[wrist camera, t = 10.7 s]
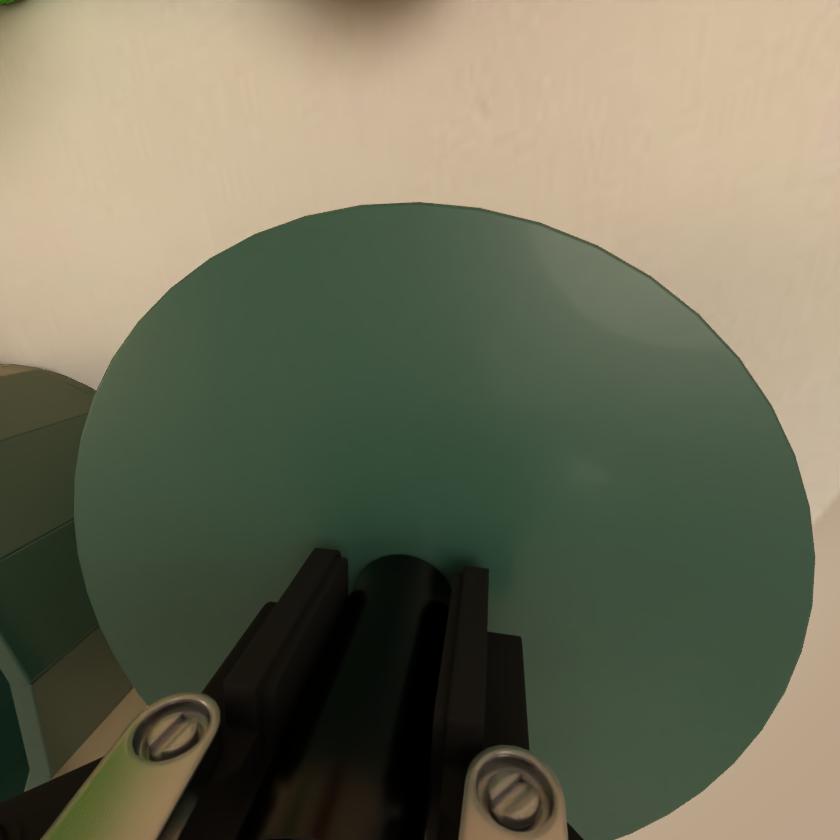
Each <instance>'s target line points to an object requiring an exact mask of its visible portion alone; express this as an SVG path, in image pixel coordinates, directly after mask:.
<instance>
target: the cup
mask: <svg viewBox="0 0 840 840" xmlns="http://www.w3.org/2000/svg"><path fill="white" fill-rule="evenodd" d="M13 1H15V0H0V4H6V3H11V2H13Z"/></svg>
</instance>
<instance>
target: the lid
mask: <svg viewBox="0 0 840 840" xmlns="http://www.w3.org/2000/svg"><path fill="white" fill-rule="evenodd" d="M74 524H75V533H76V542H77V551H78V557H79V561H80V566H81V570H82V574H83V578H84V582H85V586H86V590H87V594H88V596H89V599H90V602H91V605H92V607H93V610H94V613H95V615H96V618H97V621H98V623H99V626H100V629H101V631H102V633H103V634H104V636H105V638H106V640H107V642H108V644H109V646H110V648H111V650H112V652H113V654H114V656H115V658H116V660H117V662H118V664H119V665H120V667H121V668H122V670H123V671H124V673H125V674H126V676H127V678H128V679H129V681H130V682H131V684H132V685H133V687H134V688H135V690H136V691H137V693H138V694H139V696H140V697H141V698H142V699H143V701H144V702H145V703H146V704H147V706H150V705H151V704H152V703H154V702H156V701H158V700H160V699H162V698H164V697H167V696H169V695H173V694H177V693H181V692H199V693H202V691H203V690H204V688H205V687H206V686H207V684H208V683H209V681H210V680H211V679H212V677H213V676H214V674H215V673H216V672H217V670H218V669H219V667H220V666H221V665H222V663H223V662H224V660H225V659H226V658H227V656H228V655H229V653H230V652H231V651H232V649H233V648H234V646H235V645H236V644H237V642H238V641H239V639H240V638H241V637H242V635H243V634H244V633H245V631H246V630H247V628H248V627H249V626H250V624H251V623H252V621H253V620H254V619H255V617H256V616H257V614H258V613H259V612H260V610H261V609H262V607H263V606H264V605H265V604H266V603H268V602H270V601H271V602H278V601H279V599H280V598H281V596H282V595H283V593H284V592H285V590H286V589H287V588H288V586H289V585H290V583H291V582H292V580H293V579H294V577H295V576H296V574H297V573H298V571H299V570H300V568H301V567H302V565H303V564H304V563H305V561H306V560H307V558H308V557H309V555H310V554H311V552H312V551H313V550H314V548H324V549H333V550H339V551H340V553H341V557H345V558H347V559H348V599H347V601H346V603H345V605H344V607H343V609H342V612H341V614H340V616H339V618H338V620H337V622H336V624H335V627H334V629H333V631H332V633H331V635H330V637H329V639H328V642H327V644H326V646H325V648H324V650H323V652H322V654H321V656H320V659H319V661H318V663H317V665H316V667H315V669H314V671H313V674H312V676H311V678H310V680H309V682H308V684H307V686H306V689H305V691H304V693H303V695H302V697H301V699H300V701H299V703H298V706H297V708H296V710H295V712H294V714H293V716H292V718H291V721H290V723H289V725H288V727H287V729H286V731H285V733H284V736H283V738H282V740H281V742H280V744H279V746H278V748H277V750H276V753H275V755H274V757H273V759H272V761H271V763H270V765H269V768H268V770H267V772H266V774H265V776H264V778H263V780H262V783H261V785H260V787H259V789H258V791H257V793H256V795H255V797H254V800H253V802H252V804H251V806H250V808H249V810H248V812H247V815H246V817H245V819H244V821H243V823H242V825H241V827H240V829H239V832H238V834H237V836H236V838H235V840H425V838H426V826H427V818H428V810H429V803H430V795H431V791H430V781H429V775H430V760H431V744H432V729H433V718H434V709H435V701H436V694H437V688H438V681H439V674H440V667H441V660H442V654H443V647H444V640H445V633H446V626H447V620H448V613H449V606H450V599H451V592H452V586H453V579H454V572H455V571H458V572H464V569H465V566H472V567H480V568H488V569H489V591H488V626H487V632H494V633H501V634H508V635H515V636H521V638H522V646H523V661H524V676H525V690H526V705H527V719H528V734H529V749H530V752H532V753H533V754H535V755H537V756H538V757H540V758H541V759H542V760H543V761H544V762H545V763H546V764H547V765H548V766H549V767H550V768H551V769H552V770H553V771H554V773H555V775H556V777H557V779H558V780H559V782H560V784H561V786H562V790H563V795H564V799H565V806H566V818H567V822H568V823H569V824H570V825H571V826H572V827H573V828H574V830H575V831H576V832H577V833H578V834H579V835H580V836H581V837H582V838H583V839H584V840H615V839H617V838H620V837H623V836H625V835H628V834H631V833H633V832H635V831H637V830H639V829H641V828H643V827H645V826H647V825H649V824H651V823H653V822H655V821H656V820H659V819H661V818H663V817H664V816H667V815H668V814H670V813H671V812H673V811H674V810H676V809H677V808H679V807H680V806H682V805H683V804H685V803H686V802H687V801H689V800H691V799H692V798H693V797H695V796H696V795H698V794H699V793H701V792H702V791H703V790H705V789H706V788H707V787H708V786H709V785H710V784H711V783H712V782H714V781H715V780H716V779H717V778H718V777H719V776H720V775H721V774H723V773H724V772H725V771H726V770H727V769H728V768H729V767H730V766H731V765H732V764H734V763H735V761H736V760H737V759H738V758H739V757H740V755H741V754H742V753H743V752H744V751H745V750H746V748H747V747H748V746H749V745H750V744H751V742H752V741H753V740H754V739H755V738H756V737H757V735H758V734H759V733H760V732H761V731H762V729H763V727H764V726H765V724H766V722H767V721H768V719H769V718H770V716H771V714H772V713H773V711H774V709H775V708H776V706H777V704H778V703H779V701H780V699H781V698H782V696H783V695H784V693H785V691H786V688H787V686H788V683H789V681H790V678H791V676H792V674H793V671H794V669H795V666H796V664H797V662H798V659H799V657H800V654H801V652H802V648H803V644H804V639H805V635H806V630H807V626H808V622H809V617H810V613H811V609H812V602H813V584H814V568H815V567H814V566H815V552H814V543H813V535H812V534H813V533H812V524H811V515H810V507H809V503H808V500H807V496H806V492H805V489H804V485H803V482H802V478H801V475H800V471H799V468H798V464H797V461H796V457H795V454H794V452H793V450H792V448H791V446H790V443H789V441H788V439H787V437H786V435H785V433H784V431H783V429H782V426H781V424H780V422H779V420H778V418H777V416H776V414H775V411H774V409H773V407H772V405H771V404H770V402H769V401H768V399H767V398H766V396H765V395H764V393H763V392H762V390H761V389H760V387H759V386H758V385H757V383H756V382H755V380H754V379H753V377H752V376H751V374H750V373H749V371H748V370H747V368H746V367H745V365H744V364H743V362H742V361H741V360H740V358H739V357H738V356H737V355H736V354H735V353H734V352H733V350H732V349H731V348H730V347H729V346H728V345H727V344H726V343H725V342H724V341H723V340H722V339H721V338H720V337H719V335H718V334H717V333H716V332H715V331H714V330H713V329H712V328H711V327H710V326H709V325H708V324H707V323H706V322H705V320H704V319H703V318H702V317H701V316H700V315H699V314H698V313H696V312H695V311H694V310H693V309H691V308H690V307H689V306H688V305H686V304H685V303H684V302H683V301H681V300H680V299H679V298H678V297H676V296H675V295H674V294H672V293H671V292H670V291H669V290H667V289H666V288H665V287H664V286H662V285H661V284H660V283H659V282H657V281H656V280H655V279H654V278H652V277H651V276H649V275H648V274H646V273H644V272H642V271H641V270H639V269H637V268H635V267H634V266H632V265H630V264H629V263H627V262H625V261H623V260H622V259H620V258H618V257H616V256H615V255H613V254H611V253H609V252H608V251H606V250H604V249H603V248H601V247H599V246H597V245H595V244H592V243H590V242H587V241H585V240H582V239H580V238H577V237H575V236H572V235H570V234H567V233H565V232H562V231H560V230H557V229H555V228H552V227H550V226H547V225H545V224H542V223H540V222H536V221H532V220H528V219H523V218H519V217H515V216H511V215H507V214H503V213H499V212H495V211H490V210H486V209H482V208H475V207H465V206H454V205H444V204H433V203H423V202H413V203H393V204H372V205H359V206H354V207H349V208H344V209H338V210H333V211H328V212H323V213H318V214H313V215H308V216H304V217H301V218H299V219H296V220H293V221H290V222H287V223H285V224H282V225H279V226H276V227H273V228H271V229H268V230H265V231H262V232H259V233H257V234H254V235H252V236H251V237H249V238H247V239H245V240H243V241H241V242H239V243H238V244H236V245H234V246H232V247H230V248H228V249H226V250H225V251H223V252H221V253H219V254H217V255H215V256H213V257H212V258H210V259H209V260H207V261H206V262H205V263H203V264H202V265H201V266H199V267H198V268H197V269H195V270H194V271H193V272H191V273H190V274H189V275H187V276H186V277H185V278H183V279H182V280H181V281H179V282H178V283H177V284H176V285H174V286H173V287H172V288H170V290H169V291H168V292H167V293H166V294H165V295H164V296H163V297H162V298H161V299H160V300H159V301H158V302H157V303H156V304H155V305H154V306H153V307H152V308H151V309H150V310H149V311H148V312H147V313H146V314H145V315H144V316H143V318H142V319H141V320H140V321H139V322H138V323H137V324H136V326H135V327H134V329H133V330H132V331H131V333H130V334H129V336H128V337H127V339H126V340H125V341H124V343H123V344H122V346H121V347H120V349H119V350H118V351H117V353H116V354H115V356H114V357H113V359H112V360H111V363H110V365H109V367H108V369H107V371H106V373H105V375H104V377H103V379H102V381H101V383H100V385H99V387H98V389H97V391H96V393H95V395H94V397H93V400H92V403H91V406H90V410H89V413H88V416H87V419H86V422H85V425H84V428H83V432H82V435H81V439H80V445H79V451H78V458H77V464H76V470H75V476H74Z"/></svg>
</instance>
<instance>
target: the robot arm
mask: <svg viewBox="0 0 840 840" xmlns="http://www.w3.org/2000/svg"><path fill="white" fill-rule="evenodd" d="M488 591H489V569H488V568H480V567H472V566H465V569H464V572H458V571H455V572H454V579H453V586H452V592H451V599H450V606H449V613H448V620H447V626H446V633H445V640H444V647H443V654H442V660H441V667H440V674H439V681H438V688H437V694H436V701H435V709H434V718H433V729H432V744H431V760H430V775H429V781H430V791H431V795H430V803H429V810H428V818H427V826H426V838H425V840H584V839H583V838H582V837H581V836H580V835H579V834H578V833H577V832H576V831H575V830H574V828H573V827H572V826H571V825H570V824H569V823H568V822H567V818H566V806H565V799H564V795H563V790H562V786H561V784H560V782H559V780H558V779H557V777H556V775H555V773H554V771H553V770H552V769H551V768H550V767H549V766H548V765H547V764H546V763H545V762H544V761H543V760H542V759H541V758H540V757H538V756H537V755H535V754H533V753H532V752H530V749H529V734H528V719H527V705H526V690H525V676H524V661H523V646H522V638H521V636H515V635H508V634H501V633H494V632H487V626H488ZM347 599H348V559H347V558H345V557H341V553H340V551H339V550H333V549H324V548H314V550H313V551H312V552H311V554H310V555H309V557H308V558H307V560H306V561H305V563H304V564H303V565H302V567H301V568H300V570H299V571H298V573H297V574H296V576H295V577H294V579H293V580H292V582H291V583H290V585H289V586H288V588H287V589H286V590H285V592H284V593H283V595H282V596H281V598H280V599H279V601H278V602H271V601H270V602H268V603H266V604H265V605H264V606H263V607H262V609H261V610H260V612H259V613H258V614H257V616H256V617H255V619H254V620H253V621H252V623H251V624H250V626H249V627H248V628H247V630H246V631H245V633H244V634H243V635H242V637H241V638H240V639H239V641H238V642H237V644H236V645H235V646H234V648H233V649H232V651H231V652H230V653H229V655H228V656H227V658H226V659H225V660H224V662H223V663H222V665H221V666H220V667H219V669H218V670H217V672H216V673H215V674H214V676H213V677H212V679H211V680H210V681H209V683H208V684H207V686H206V687H205V688H204V690H203V691H202V693H199V692H181V693H177V694H173V695H169V696H167V697H164V698H162V699H160V700H158V701H156V702H154V703H152V704H151V705H150V706H148V707H147V708H145V709H144V710H142V711H141V712H140V713H139V714H138V715H137V716H136V717H135V718H134V719H133V720H132V721H131V722H130V724H129V725H128V726H127V728H126V729H125V730H124V731H123V733H122V734H121V735H120V737H119V738H118V739H117V741H116V742H115V743H114V744H113V746H112V747H111V748H110V750H109V751H108V752H107V754H106V755H105V756H103V757H101V758H99V759H97V760H94V761H92V762H90V763H88V764H86V765H83V766H81V767H79V768H77V769H74V770H72V771H70V772H68V773H66V774H63V775H61V776H59V777H57V778H55V779H52V780H50V781H48V782H46V783H44V784H41V785H39V786H37V787H35V788H32V789H30V790H28V791H26V792H24V793H21V794H19V795H17V796H15V797H13V798H10V799H8V800H6V801H4V802H2V803H0V840H235V838H236V836H237V834H238V832H239V829H240V827H241V825H242V823H243V821H244V819H245V817H246V815H247V812H248V810H249V808H250V806H251V804H252V802H253V800H254V797H255V795H256V793H257V791H258V789H259V787H260V785H261V783H262V780H263V778H264V776H265V774H266V772H267V770H268V768H269V765H270V763H271V761H272V759H273V757H274V755H275V753H276V750H277V748H278V746H279V744H280V742H281V740H282V738H283V736H284V733H285V731H286V729H287V727H288V725H289V723H290V721H291V718H292V716H293V714H294V712H295V710H296V708H297V706H298V703H299V701H300V699H301V697H302V695H303V693H304V691H305V689H306V686H307V684H308V682H309V680H310V678H311V676H312V674H313V671H314V669H315V667H316V665H317V663H318V661H319V659H320V656H321V654H322V652H323V650H324V648H325V646H326V644H327V642H328V639H329V637H330V635H331V633H332V631H333V629H334V627H335V624H336V622H337V620H338V618H339V616H340V614H341V612H342V609H343V607H344V605H345V603H346V601H347Z"/></svg>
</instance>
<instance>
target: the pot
mask: <svg viewBox="0 0 840 840" xmlns="http://www.w3.org/2000/svg"><path fill="white" fill-rule="evenodd" d="M95 393H96V391H95V390H93V389H91V388H89V387H88V386H86V385H84V384H81V383H79V382H77V381H74V380H72V379H70V378H68V377H65V376H63V375H60V374H56V373H53V372H50V371H46V370H43V369H39V368H34V367H27V366H21V365H1V364H0V803H2V802H4V801H6V800H8V799H10V798H13V797H15V796H17V795H19V794H21V793H24V792H26V791H28V790H30V789H32V788H35V787H37V786H39V785H41V784H44V783H46V782H48V781H50V780H52V779H55V778H57V777H59V776H61V775H63V774H66V773H68V772H70V771H72V770H74V769H77V768H79V767H81V766H83V765H86V764H88V763H90V762H92V761H94V760H97V759H99V758H101V757H103V756H105V755H106V754H107V752H108V751H109V750H110V748H111V747H112V746H113V744H114V743H115V742H116V741H117V739H118V738H119V737H120V735H121V734H122V733H123V731H124V730H125V729H126V728H127V726H128V725H129V724H130V722H131V721H132V720H133V719H134V718H135V717H136V716H137V715H138V714H139V713H140V712H141V711H142V710H144V709H145V708H146V707H147V704H146V703H145V702H144V701H143V699H142V698H141V697H140V696H139V694H138V693H137V691H136V690H135V688H134V687H133V685H132V684H131V682H130V681H129V679H128V678H127V676H126V674H125V673H124V671H123V670H122V668H121V667H120V665H119V664H118V662H117V660H116V658H115V656H114V654H113V652H112V650H111V648H110V646H109V644H108V642H107V640H106V638H105V636H104V634H103V633H102V631H101V629H100V626H99V623H98V621H97V618H96V615H95V613H94V610H93V607H92V605H91V602H90V599H89V596H88V594H87V590H86V586H85V582H84V578H83V574H82V570H81V566H80V561H79V557H78V551H77V542H76V533H75V524H74V476H75V470H76V464H77V458H78V451H79V445H80V439H81V435H82V432H83V428H84V425H85V422H86V419H87V416H88V413H89V410H90V406H91V403H92V400H93V397H94V395H95Z"/></svg>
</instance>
